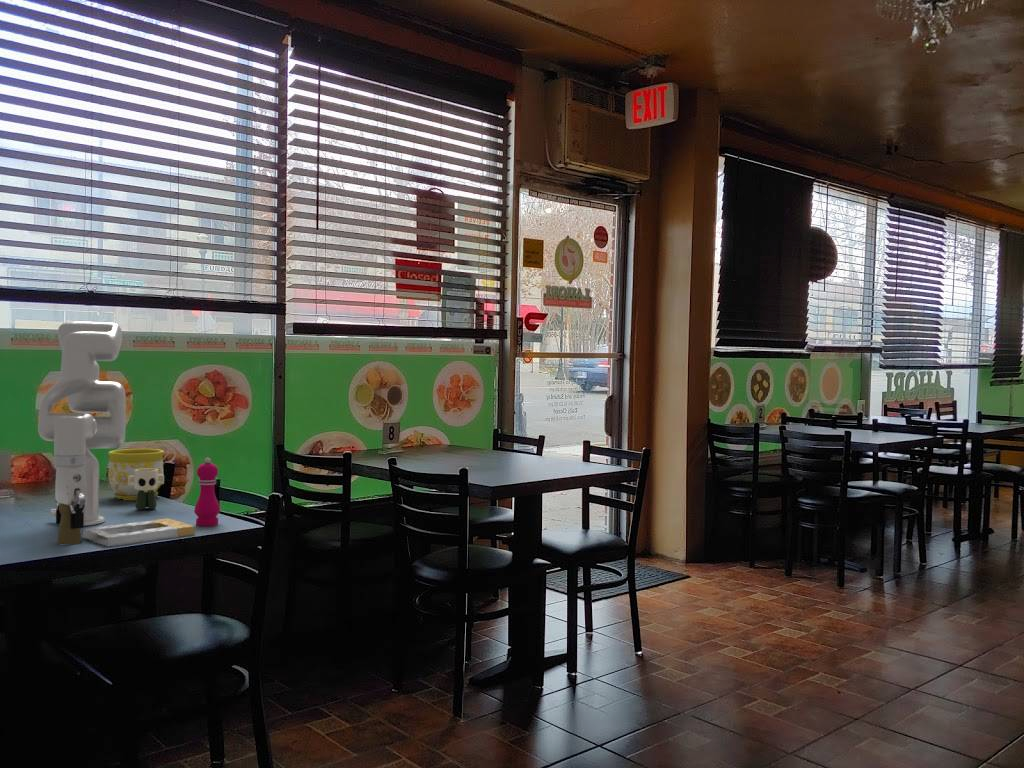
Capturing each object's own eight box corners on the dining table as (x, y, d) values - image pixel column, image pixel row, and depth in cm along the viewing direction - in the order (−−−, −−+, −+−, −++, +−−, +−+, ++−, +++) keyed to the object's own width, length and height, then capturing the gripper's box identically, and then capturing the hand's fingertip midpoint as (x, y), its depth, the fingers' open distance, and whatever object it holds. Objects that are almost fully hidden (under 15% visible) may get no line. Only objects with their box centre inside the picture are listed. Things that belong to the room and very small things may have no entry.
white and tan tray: (107, 546, 230) (108, 537, 230) (83, 537, 241) (83, 528, 241) (194, 534, 248) (194, 526, 248) (168, 526, 259) (168, 518, 259)
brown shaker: (86, 540, 238) (86, 499, 238) (76, 545, 232) (76, 503, 232) (63, 540, 238) (63, 499, 238) (52, 544, 232) (52, 503, 232)
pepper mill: (194, 522, 265) (194, 456, 265) (219, 521, 268) (219, 456, 267) (194, 527, 258) (194, 459, 258) (220, 526, 261) (220, 458, 260)
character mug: (128, 512, 280) (128, 471, 280) (126, 508, 287) (127, 469, 286) (165, 510, 286) (165, 470, 285) (162, 506, 292) (162, 467, 291)
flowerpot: (100, 502, 299) (100, 453, 298) (117, 493, 316) (117, 448, 316) (155, 501, 301) (156, 454, 300) (169, 493, 319) (169, 448, 318)
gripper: (97, 463, 231) (97, 528, 231) (72, 458, 243) (71, 520, 243) (67, 465, 226) (67, 531, 226) (42, 460, 238) (42, 523, 238)
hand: (69, 525), depth 235 cm, fingers open, 9 cm apart
